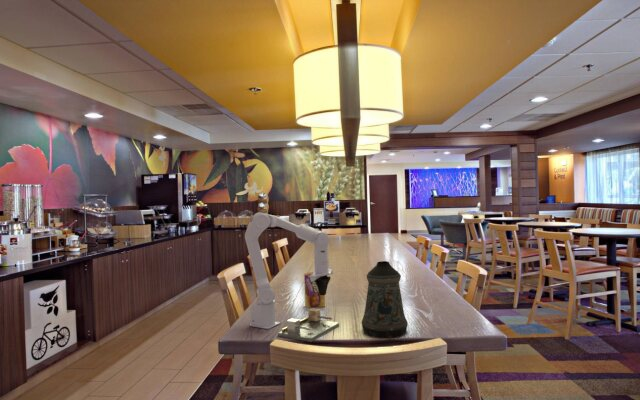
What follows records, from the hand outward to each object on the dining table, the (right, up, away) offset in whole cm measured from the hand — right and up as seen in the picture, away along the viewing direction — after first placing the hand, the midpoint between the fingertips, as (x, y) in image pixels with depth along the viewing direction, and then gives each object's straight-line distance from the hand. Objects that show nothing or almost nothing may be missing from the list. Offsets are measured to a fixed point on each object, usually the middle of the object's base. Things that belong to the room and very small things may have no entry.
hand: (322, 294), depth 172 cm
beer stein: (+22, -10, -16) cm, 29 cm away
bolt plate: (-5, -10, -14) cm, 18 cm away
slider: (-1, -8, -7) cm, 11 cm away
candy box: (-3, -10, +21) cm, 23 cm away
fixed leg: (-8, -9, -19) cm, 22 cm away
